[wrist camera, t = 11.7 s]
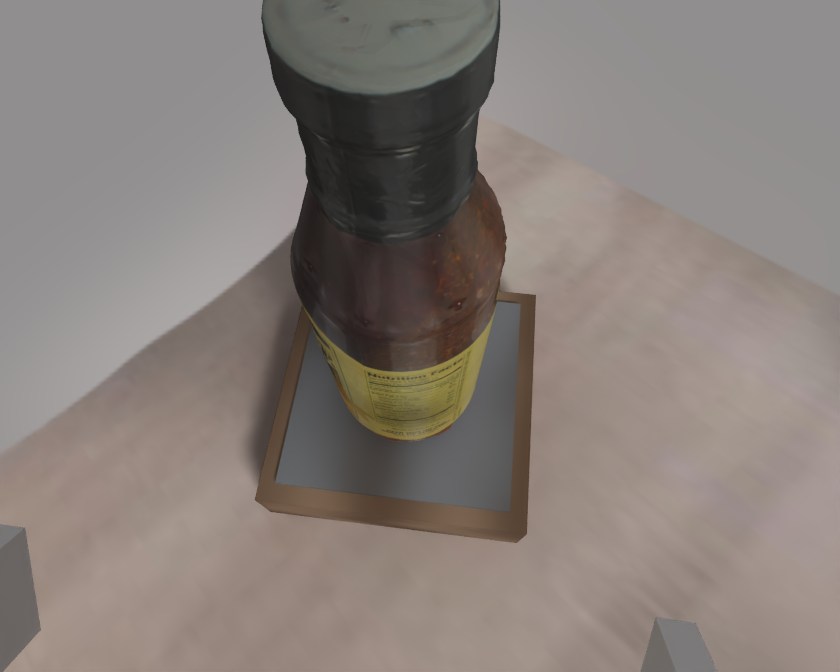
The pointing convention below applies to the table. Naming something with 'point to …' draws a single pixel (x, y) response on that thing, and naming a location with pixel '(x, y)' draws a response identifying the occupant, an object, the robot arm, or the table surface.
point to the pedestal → (409, 446)
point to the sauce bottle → (393, 198)
